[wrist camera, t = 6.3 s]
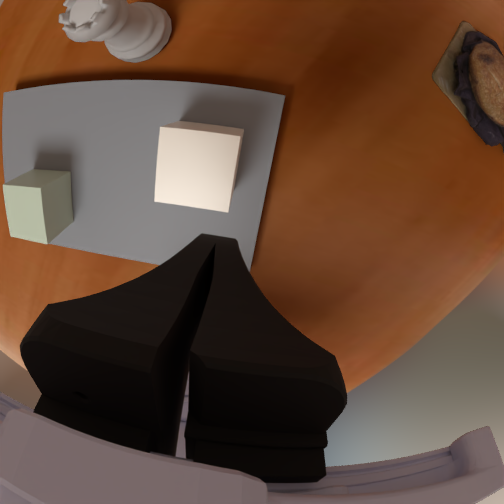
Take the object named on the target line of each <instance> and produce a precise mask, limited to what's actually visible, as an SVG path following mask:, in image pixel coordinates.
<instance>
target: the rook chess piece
mask: <svg viewBox="0 0 504 504" xmlns="http://www.w3.org/2000/svg"><path fill="white" fill-rule="evenodd" d="M63 6H66V7H67V10H66V13H62V14H59V23H62V24H64V27H63V28H62V29H63V30H64V31H65V32H66V34H67V36H68V38H70V39H72V40H73V41H75V42H87V41H90V40H92V41H103V40H104V41H105V45H106V47H107V48H108V50H109V52H110V53H111V54H112V55H114V56H115V57H117V58H118V59H122V60H123V61H127V62H135V63H136V62H140V61H144V60H148V59H150V58H151V57H153V56H154V55H156V54H157V53H159V52H160V51H161V49H162V48H163V47H164V46H165V45H166V43H167V42H168V39H169V37H170V34H171V31H172V27H171V19H170V17H169V15H168V14H167V12H166V11H165V10H164V9H162V8H160V7H158V6H157V5H155V4H153V3H148V2H135V3H132V4H128V3H127V1H126V0H66V1H65V2H64V4H63Z"/></svg>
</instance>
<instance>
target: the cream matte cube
mask: <svg viewBox="0 0 504 504" xmlns="http://www.w3.org/2000/svg"><path fill="white" fill-rule="evenodd" d="M243 133H244V129H240V128H234V127H227V126H220V125H212V124H204V123H195V122H186V121H177V122H174V123H170V124H167V125H164V126H161V127H160V133H159V143H158V154H157V166H156V180H155V198H154V202H161V203H168V204H175V205H182V206H189V207H195V208H202V209H208V210H215V211H221V212H227V213H228V212H229V208H230V204H231V200H232V196H233V192H234V187H235V181H236V174H237V168H238V162H239V157H240V151H241V145H242V139H243Z"/></svg>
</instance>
